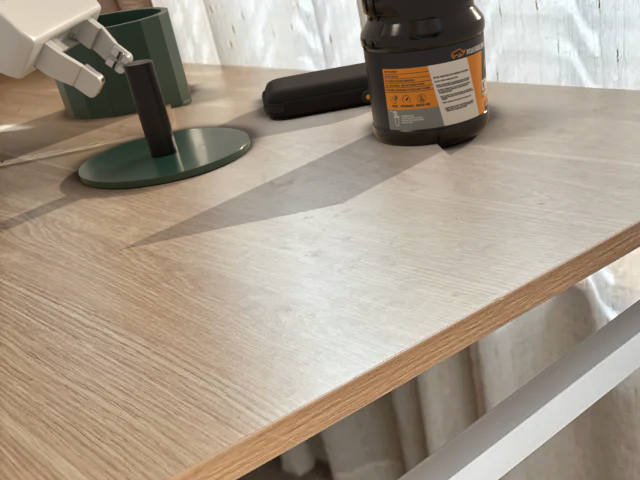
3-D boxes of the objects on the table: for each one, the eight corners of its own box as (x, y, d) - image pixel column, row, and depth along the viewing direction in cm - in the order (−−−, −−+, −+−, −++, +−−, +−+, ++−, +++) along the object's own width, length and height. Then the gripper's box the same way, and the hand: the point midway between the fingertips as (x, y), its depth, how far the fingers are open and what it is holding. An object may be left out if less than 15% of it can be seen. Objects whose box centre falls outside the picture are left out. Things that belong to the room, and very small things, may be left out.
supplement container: (475, 150, 68) (464, -21, 61) (359, 156, 72) (334, -6, 64) (501, 115, 76) (494, -41, 68) (394, 121, 79) (376, -27, 71)
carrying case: (268, 132, 82) (410, 106, 83) (261, 99, 80) (406, 72, 81) (264, 109, 91) (394, 85, 91) (258, 78, 89) (390, 54, 89)
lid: (76, 208, 70) (34, 98, 65) (88, 161, 83) (53, 64, 77) (260, 171, 72) (234, 59, 67) (244, 130, 84) (222, 33, 79)
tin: (67, 137, 93) (32, 41, 87) (76, 110, 104) (46, 24, 98) (194, 112, 94) (168, 16, 88) (189, 88, 105) (166, 2, 99)
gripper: (-7, -17, 77) (129, 83, 82) (-111, 17, 61) (65, 138, 67) (17, -84, 74) (157, 24, 79) (-87, -66, 58) (97, 68, 63)
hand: (115, 77), depth 73 cm, fingers open, 8 cm apart
